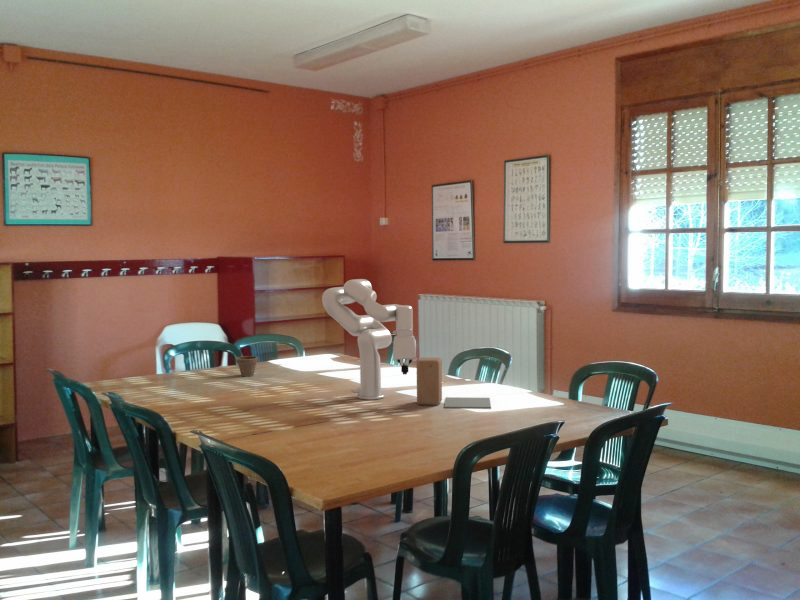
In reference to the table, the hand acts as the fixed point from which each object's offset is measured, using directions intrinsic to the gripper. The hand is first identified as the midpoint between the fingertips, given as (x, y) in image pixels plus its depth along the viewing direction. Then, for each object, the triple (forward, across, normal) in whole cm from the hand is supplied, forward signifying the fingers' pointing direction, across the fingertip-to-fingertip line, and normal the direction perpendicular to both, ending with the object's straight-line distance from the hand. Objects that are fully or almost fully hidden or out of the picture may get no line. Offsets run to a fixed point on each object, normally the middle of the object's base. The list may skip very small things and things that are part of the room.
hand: (404, 373), depth 344 cm
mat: (+13, +28, 0) cm, 31 cm away
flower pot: (+13, -92, +68) cm, 115 cm away
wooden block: (+13, +11, 0) cm, 17 cm away
